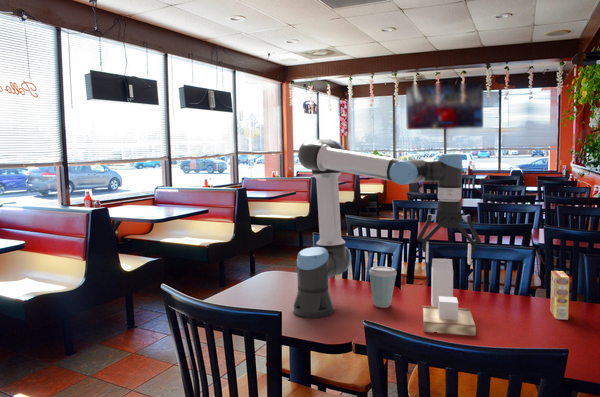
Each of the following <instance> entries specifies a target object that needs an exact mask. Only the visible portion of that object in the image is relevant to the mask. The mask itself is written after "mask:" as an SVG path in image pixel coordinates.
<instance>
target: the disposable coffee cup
mask: <svg viewBox="0 0 600 397" xmlns="http://www.w3.org/2000/svg"><path fill="white" fill-rule="evenodd" d="M368 274H369V280H370V288H371V289H370V290H371V298H372V303H373V305H374V306H375V307H377V308H382V309H385V308H390V306H391V304H392V300H393V294H394V293H393V292H394V288H395V282H396V277H397V275H398V274H397V270H396V268H393V267H391V266H390V267H389V266H372V267H370V269H369V270H368Z"/></svg>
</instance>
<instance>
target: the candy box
mask: <svg viewBox="0 0 600 397" xmlns="http://www.w3.org/2000/svg"><path fill="white" fill-rule="evenodd" d="M550 272H551V273H550V275H551V276H550V279H551V280H550V312H551V314H552V316H553V317H554V319H556V320H563V321H568V320H569V305H570V302H569V301H570V299H569V298H570V277H569V276H568V275H567V273H565V271H563V270H560V271H559V270H551V271H550Z"/></svg>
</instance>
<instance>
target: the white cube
mask: <svg viewBox="0 0 600 397" xmlns="http://www.w3.org/2000/svg"><path fill="white" fill-rule="evenodd" d="M458 308H459V301H458V297H455V296H453V297H444V296H439V298H438V314H439V319H448V320H458Z"/></svg>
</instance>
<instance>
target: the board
mask: <svg viewBox="0 0 600 397" xmlns="http://www.w3.org/2000/svg"><path fill="white" fill-rule="evenodd" d="M422 322H423V332H425V333H434V332H437V334H448V335H461V336H475V337H476V332H477V331H476V326H477V325H476V323H475V321H474V318H473V315H472V312H471V309H470V308H463V307H458V320H448V319H439V314H438V307H433V306H432V305H430V306H428V305H422Z"/></svg>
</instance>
